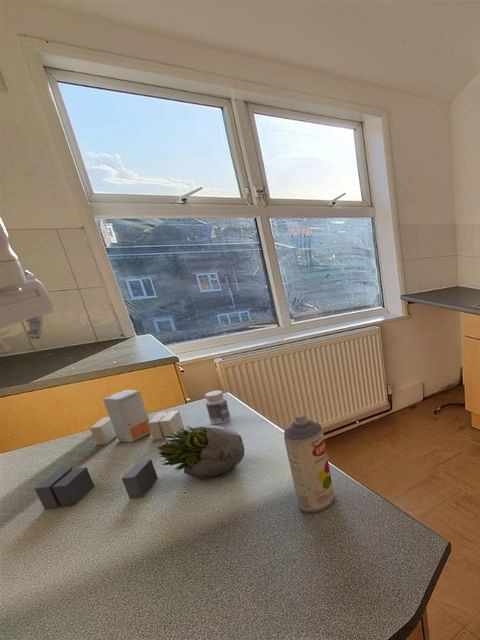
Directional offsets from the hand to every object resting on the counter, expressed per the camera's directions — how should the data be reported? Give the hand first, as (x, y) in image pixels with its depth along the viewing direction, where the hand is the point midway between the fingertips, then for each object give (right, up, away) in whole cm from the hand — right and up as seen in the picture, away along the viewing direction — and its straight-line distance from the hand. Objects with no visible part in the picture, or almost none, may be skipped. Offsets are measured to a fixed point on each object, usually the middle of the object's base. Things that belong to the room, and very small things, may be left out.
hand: (21, 344), depth 88 cm
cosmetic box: (+3, -22, +24) cm, 32 cm away
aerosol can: (+61, -33, 0) cm, 69 cm away
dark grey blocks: (+15, -31, +2) cm, 35 cm away
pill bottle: (+19, -19, +33) cm, 42 cm away
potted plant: (+32, -29, +9) cm, 44 cm away
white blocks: (+4, -22, +24) cm, 32 cm away
